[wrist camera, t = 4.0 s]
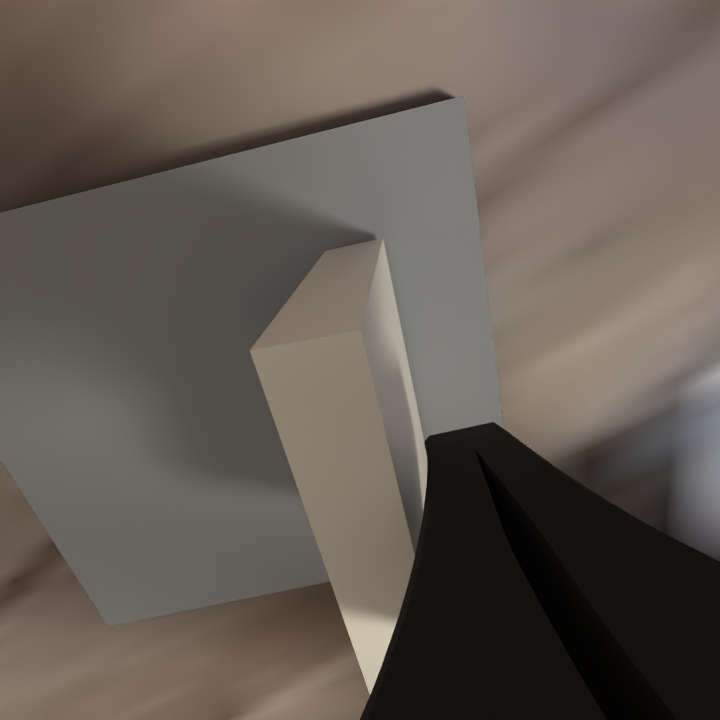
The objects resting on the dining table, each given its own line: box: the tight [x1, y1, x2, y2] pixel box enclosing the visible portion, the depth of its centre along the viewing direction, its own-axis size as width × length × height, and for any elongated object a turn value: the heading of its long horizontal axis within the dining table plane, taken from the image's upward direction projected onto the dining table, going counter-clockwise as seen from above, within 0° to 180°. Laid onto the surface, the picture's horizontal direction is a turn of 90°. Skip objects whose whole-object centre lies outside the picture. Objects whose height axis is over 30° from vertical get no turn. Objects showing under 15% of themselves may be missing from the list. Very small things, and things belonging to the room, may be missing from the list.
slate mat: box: [0, 96, 504, 627], centre depth 13 cm, size 13×14×1 cm
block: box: [250, 238, 427, 695], centre depth 10 cm, size 8×2×6 cm, turn 13°
